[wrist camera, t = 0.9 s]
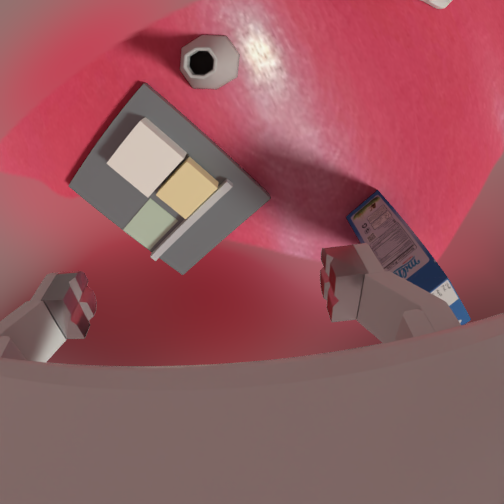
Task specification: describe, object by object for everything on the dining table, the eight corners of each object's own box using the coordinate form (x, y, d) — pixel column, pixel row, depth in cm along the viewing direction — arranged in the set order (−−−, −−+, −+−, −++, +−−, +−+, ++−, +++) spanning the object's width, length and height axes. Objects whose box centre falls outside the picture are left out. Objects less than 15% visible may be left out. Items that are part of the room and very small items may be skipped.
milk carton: (345, 216, 45) (398, 315, 29) (377, 189, 43) (447, 277, 26) (379, 254, 49) (430, 350, 33) (408, 231, 47) (471, 320, 31)
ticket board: (146, 82, 33) (137, 85, 30) (269, 194, 43) (272, 206, 40) (71, 182, 40) (60, 193, 37) (183, 270, 50) (180, 285, 47)
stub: (189, 156, 38) (187, 161, 36) (218, 182, 40) (217, 188, 38) (159, 188, 40) (155, 195, 38) (187, 212, 42) (185, 219, 40)
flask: (172, 43, 31) (151, 39, 23) (232, 27, 30) (230, 17, 22) (187, 97, 35) (172, 110, 27) (246, 82, 34) (249, 89, 26)
